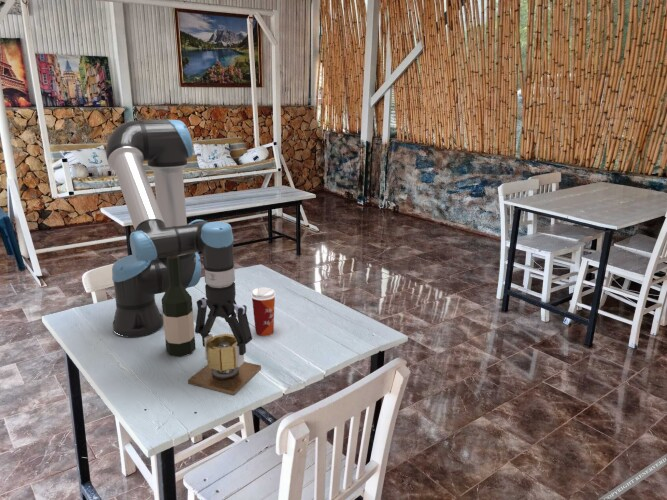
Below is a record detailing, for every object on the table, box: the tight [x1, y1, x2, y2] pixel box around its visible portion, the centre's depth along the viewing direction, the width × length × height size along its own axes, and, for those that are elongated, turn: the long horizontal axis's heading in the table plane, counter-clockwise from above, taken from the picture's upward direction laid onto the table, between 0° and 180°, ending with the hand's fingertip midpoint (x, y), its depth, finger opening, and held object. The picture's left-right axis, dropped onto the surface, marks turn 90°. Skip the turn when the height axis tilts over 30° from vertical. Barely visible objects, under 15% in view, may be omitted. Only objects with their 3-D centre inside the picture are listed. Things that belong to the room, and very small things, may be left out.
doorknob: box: [187, 342, 262, 396], centre depth 141 cm, size 14×14×10 cm
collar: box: [206, 333, 237, 371], centre depth 140 cm, size 9×9×6 cm
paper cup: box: [250, 287, 277, 337], centre depth 165 cm, size 8×8×14 cm
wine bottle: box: [161, 255, 197, 358], centre depth 151 cm, size 8×8×30 cm
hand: (224, 360), depth 141 cm, fingers closed on collar, 9 cm apart
